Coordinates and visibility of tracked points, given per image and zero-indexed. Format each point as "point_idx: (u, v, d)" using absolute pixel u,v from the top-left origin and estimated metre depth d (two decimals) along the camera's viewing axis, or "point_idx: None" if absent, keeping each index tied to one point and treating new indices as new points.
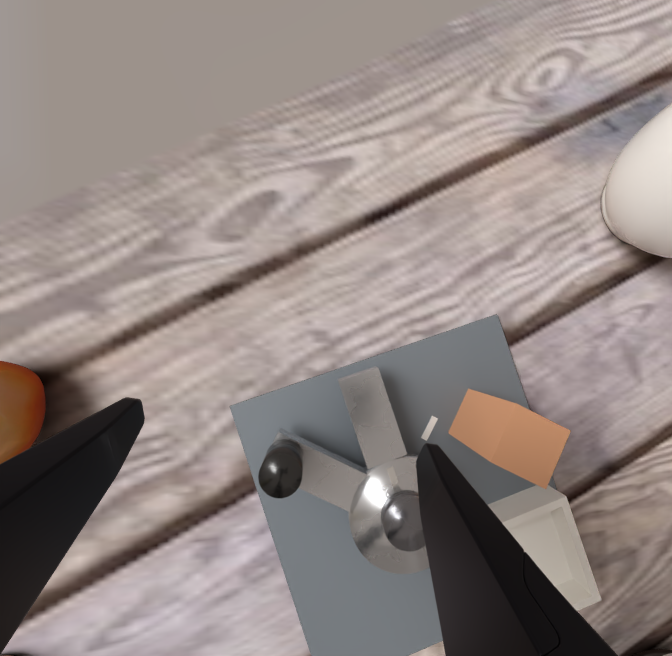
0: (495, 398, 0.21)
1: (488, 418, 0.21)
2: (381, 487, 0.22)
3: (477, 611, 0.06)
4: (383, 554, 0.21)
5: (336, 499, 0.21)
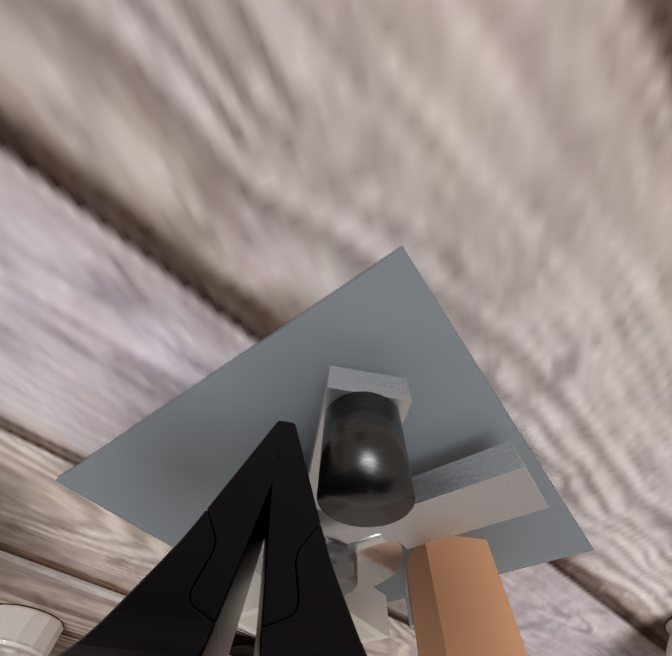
0: (513, 622, 0.16)
1: (487, 624, 0.15)
2: (351, 533, 0.14)
3: (262, 586, 0.06)
4: None
5: (314, 493, 0.13)
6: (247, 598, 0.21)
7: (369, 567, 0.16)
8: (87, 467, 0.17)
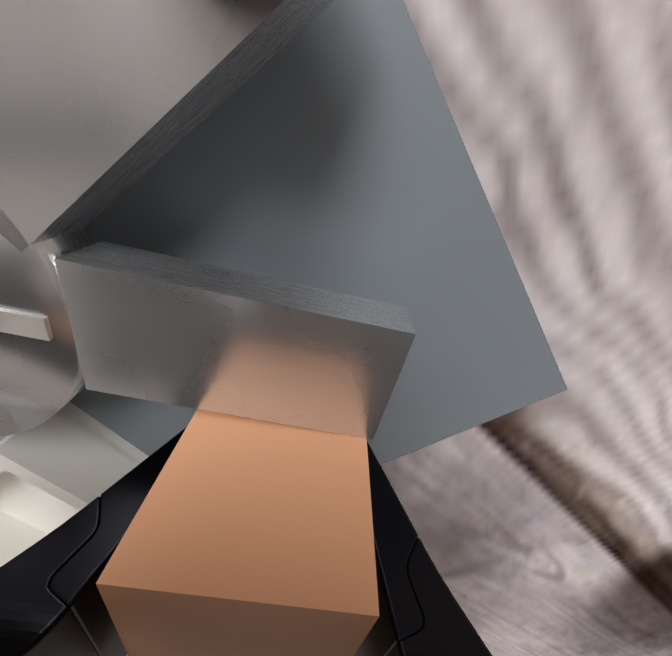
0: (364, 478, 0.06)
1: (291, 477, 0.06)
2: None
3: None
4: None
5: None
6: None
7: None
8: None
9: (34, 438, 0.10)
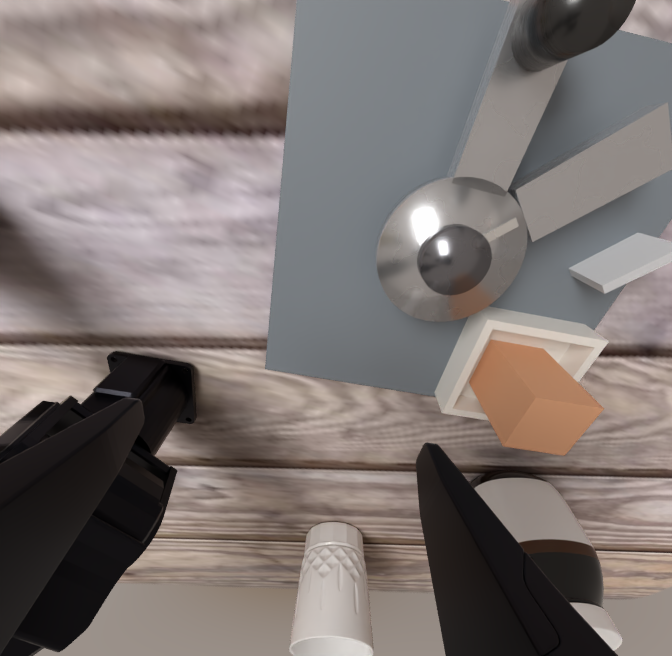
0: (576, 382, 0.19)
1: (556, 381, 0.19)
2: (488, 216, 0.16)
3: (477, 610, 0.06)
4: (399, 239, 0.16)
5: (471, 151, 0.14)
6: (449, 385, 0.23)
7: (490, 275, 0.17)
8: (272, 341, 0.23)
9: (489, 315, 0.20)
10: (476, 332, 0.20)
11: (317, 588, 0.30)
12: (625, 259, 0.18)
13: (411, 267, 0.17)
